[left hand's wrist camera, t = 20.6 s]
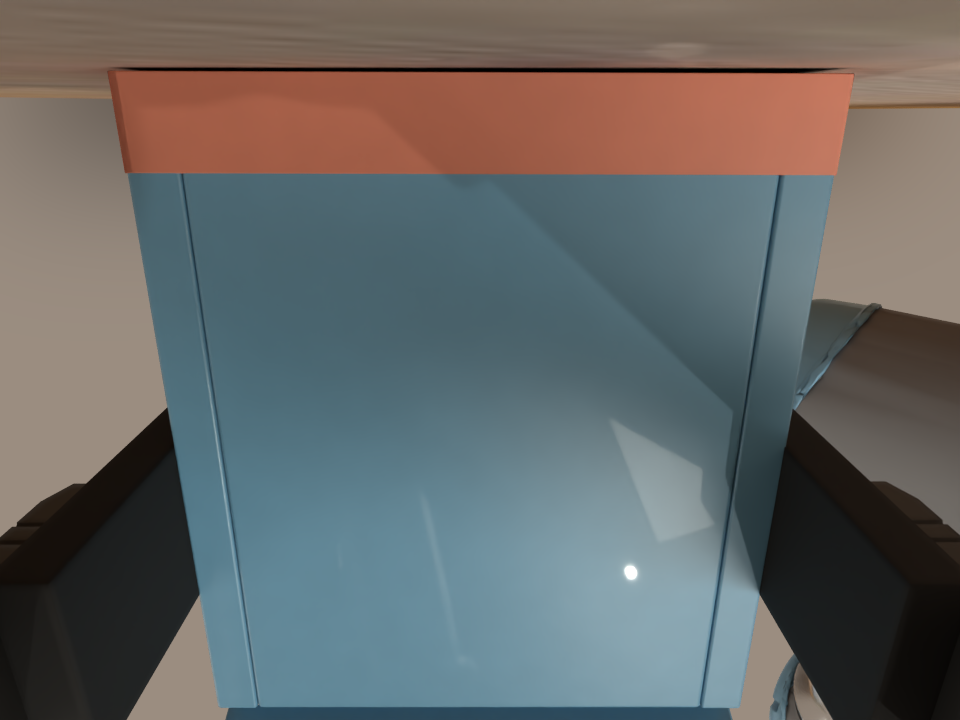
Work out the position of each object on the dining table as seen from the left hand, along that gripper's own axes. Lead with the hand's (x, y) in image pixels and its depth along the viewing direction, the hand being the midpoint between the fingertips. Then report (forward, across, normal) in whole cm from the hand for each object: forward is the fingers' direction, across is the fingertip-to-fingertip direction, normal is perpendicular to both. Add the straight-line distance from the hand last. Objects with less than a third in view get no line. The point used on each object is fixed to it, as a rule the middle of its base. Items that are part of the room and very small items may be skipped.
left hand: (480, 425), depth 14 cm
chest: (+5, 0, -6) cm, 8 cm away
